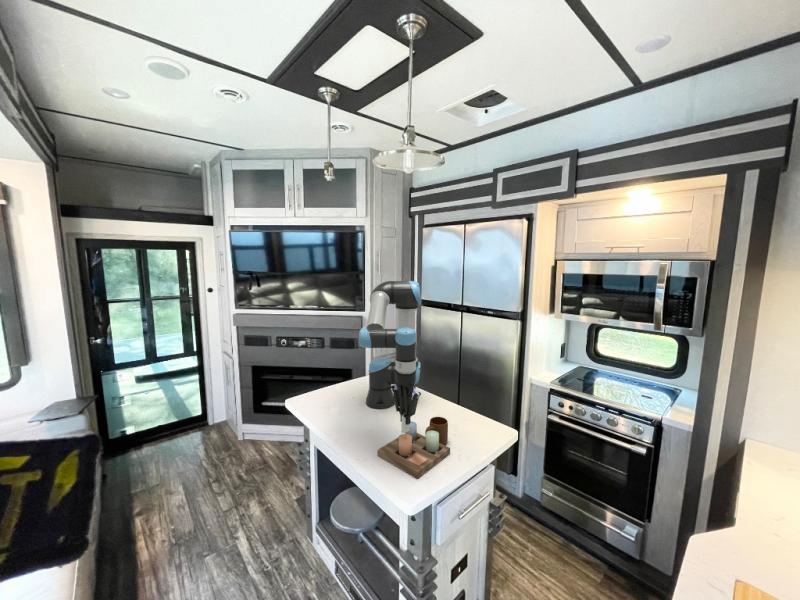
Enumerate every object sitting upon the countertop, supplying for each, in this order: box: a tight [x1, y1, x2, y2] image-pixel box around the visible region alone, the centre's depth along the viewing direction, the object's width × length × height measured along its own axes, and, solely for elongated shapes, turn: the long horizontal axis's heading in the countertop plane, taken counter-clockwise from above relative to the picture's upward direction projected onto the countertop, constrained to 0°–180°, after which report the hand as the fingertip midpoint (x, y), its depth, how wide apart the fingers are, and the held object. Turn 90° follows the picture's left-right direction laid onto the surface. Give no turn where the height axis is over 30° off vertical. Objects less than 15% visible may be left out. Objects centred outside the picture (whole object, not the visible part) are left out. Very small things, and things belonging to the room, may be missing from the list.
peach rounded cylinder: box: [398, 433, 413, 457], centre depth 124 cm, size 5×5×6 cm
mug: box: [424, 416, 449, 446], centre depth 134 cm, size 12×8×9 cm, turn 136°
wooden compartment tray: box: [376, 432, 451, 480], centre depth 127 cm, size 20×20×3 cm
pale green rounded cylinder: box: [425, 430, 439, 453], centre depth 127 cm, size 5×5×6 cm
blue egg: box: [403, 420, 418, 442], centre depth 134 cm, size 5×5×6 cm
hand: (405, 431), depth 124 cm, fingers closed
